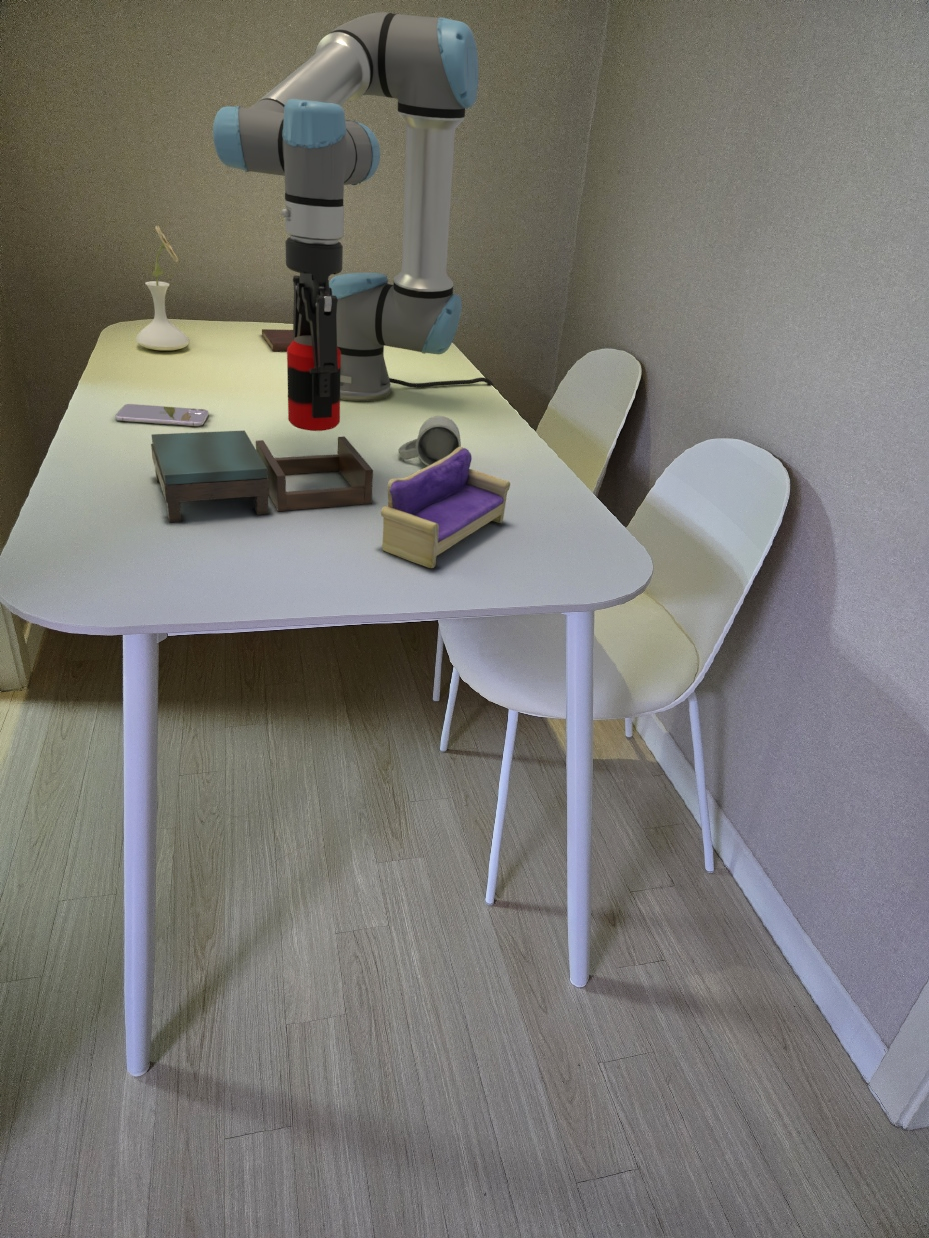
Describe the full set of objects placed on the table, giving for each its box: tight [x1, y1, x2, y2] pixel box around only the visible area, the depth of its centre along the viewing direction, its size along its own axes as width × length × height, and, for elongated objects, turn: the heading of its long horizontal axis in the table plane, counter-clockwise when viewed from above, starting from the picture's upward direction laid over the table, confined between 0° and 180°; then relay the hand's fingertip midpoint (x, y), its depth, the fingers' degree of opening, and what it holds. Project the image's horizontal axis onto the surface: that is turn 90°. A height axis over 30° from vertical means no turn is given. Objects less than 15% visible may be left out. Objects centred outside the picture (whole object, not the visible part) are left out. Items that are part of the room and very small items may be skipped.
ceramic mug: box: [397, 415, 462, 467], centre depth 137 cm, size 11×8×8 cm
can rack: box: [255, 435, 374, 512], centre depth 123 cm, size 14×14×6 cm
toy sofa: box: [380, 446, 511, 569], centre depth 112 cm, size 21×9×10 cm, turn 148°
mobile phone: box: [115, 403, 210, 427], centre depth 143 cm, size 8×1×15 cm
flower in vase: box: [135, 225, 190, 351], centre depth 175 cm, size 13×11×25 cm
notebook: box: [261, 328, 293, 352], centre depth 197 cm, size 15×20×2 cm
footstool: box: [150, 430, 270, 523], centre depth 116 cm, size 14×16×7 cm
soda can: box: [286, 335, 341, 432], centre depth 116 cm, size 8×8×12 cm
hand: (314, 407), depth 117 cm, fingers closed on soda can, 8 cm apart
